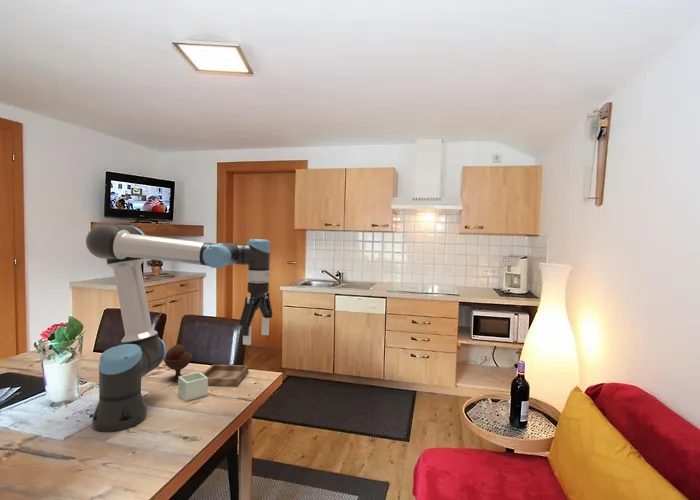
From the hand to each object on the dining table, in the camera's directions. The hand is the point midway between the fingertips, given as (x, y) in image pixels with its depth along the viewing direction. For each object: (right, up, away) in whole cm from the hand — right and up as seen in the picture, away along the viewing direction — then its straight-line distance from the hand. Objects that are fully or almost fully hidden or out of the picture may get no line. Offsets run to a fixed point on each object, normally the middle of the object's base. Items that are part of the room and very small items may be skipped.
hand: (256, 339), depth 134 cm
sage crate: (-26, -23, +6) cm, 35 cm away
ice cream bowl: (-39, -22, +21) cm, 49 cm away
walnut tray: (-20, -22, +23) cm, 38 cm away
